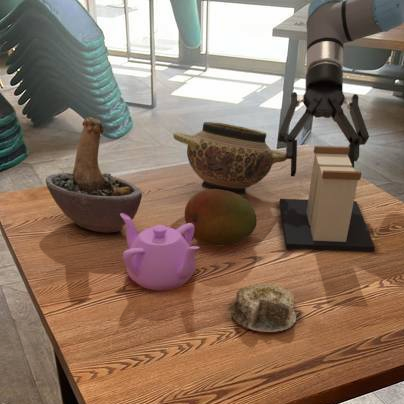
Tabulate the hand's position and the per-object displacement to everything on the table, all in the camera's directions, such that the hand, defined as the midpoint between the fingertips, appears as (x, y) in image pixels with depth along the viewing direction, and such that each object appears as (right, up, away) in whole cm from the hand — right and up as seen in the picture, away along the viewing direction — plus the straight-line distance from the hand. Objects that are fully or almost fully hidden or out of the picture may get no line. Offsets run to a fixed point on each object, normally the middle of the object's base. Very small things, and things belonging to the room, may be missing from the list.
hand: (321, 174), depth 116 cm
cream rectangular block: (-1, -10, -4) cm, 11 cm away
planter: (-45, -12, -6) cm, 47 cm away
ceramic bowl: (-20, -2, +5) cm, 21 cm away
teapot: (-31, -23, -19) cm, 44 cm away
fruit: (-21, -16, -9) cm, 28 cm away
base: (-1, -11, -4) cm, 12 cm away
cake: (-15, -31, -28) cm, 44 cm away
